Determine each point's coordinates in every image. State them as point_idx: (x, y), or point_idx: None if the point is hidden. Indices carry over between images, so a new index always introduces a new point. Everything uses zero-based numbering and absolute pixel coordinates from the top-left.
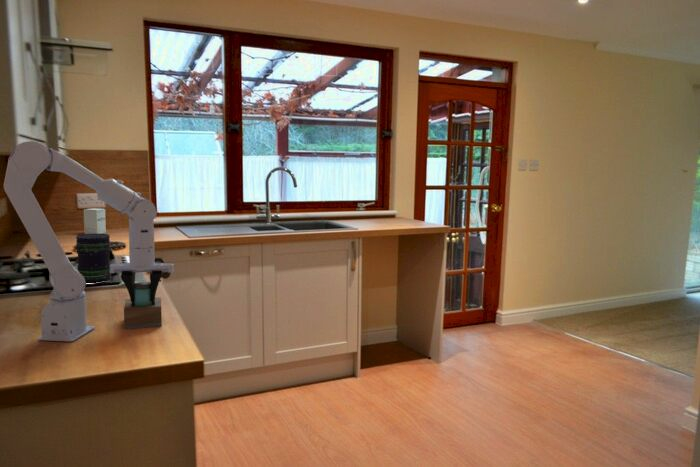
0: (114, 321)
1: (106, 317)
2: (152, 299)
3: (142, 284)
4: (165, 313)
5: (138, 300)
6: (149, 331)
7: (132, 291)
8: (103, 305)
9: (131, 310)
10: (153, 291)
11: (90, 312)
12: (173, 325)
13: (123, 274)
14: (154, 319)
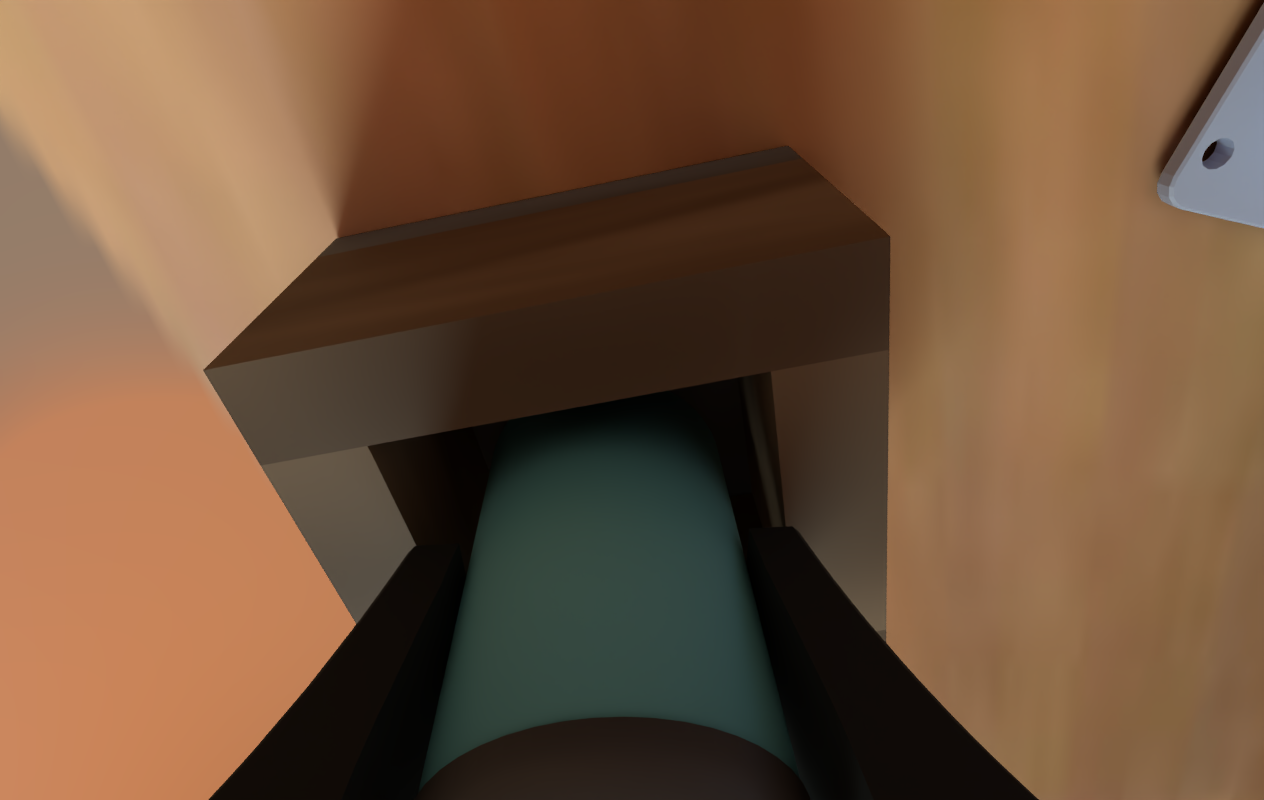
0: (921, 428)
1: (999, 537)
2: (413, 565)
3: None
4: None
5: (660, 512)
6: (423, 19)
7: (820, 685)
8: (1016, 772)
9: (738, 248)
10: (320, 699)
11: (1128, 648)
12: (198, 267)
13: None
14: (393, 254)
